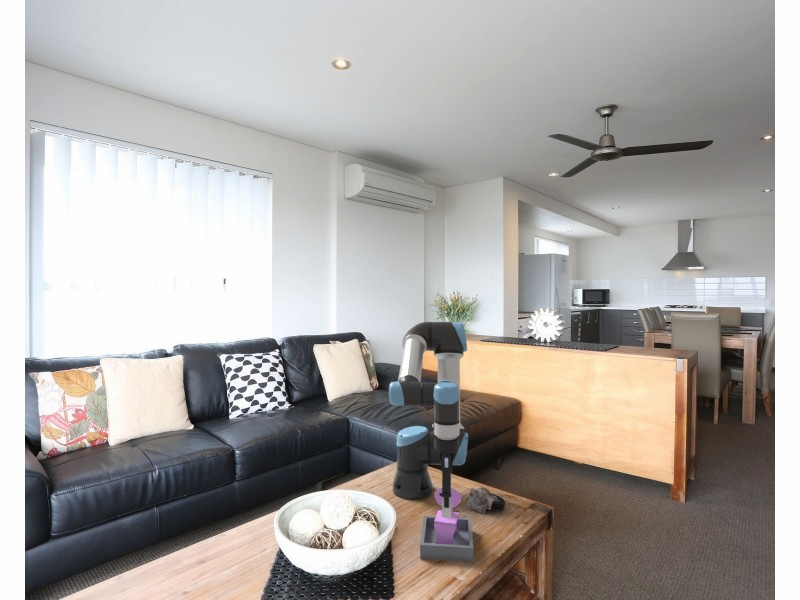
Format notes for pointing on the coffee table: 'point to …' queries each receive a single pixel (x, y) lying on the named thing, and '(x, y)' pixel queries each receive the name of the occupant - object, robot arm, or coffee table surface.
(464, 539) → the tray
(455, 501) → the toy chair
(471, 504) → the grey brown rock
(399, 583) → the coffee table surface
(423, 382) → the robot arm
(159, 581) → the coffee table surface
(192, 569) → the coffee table surface
